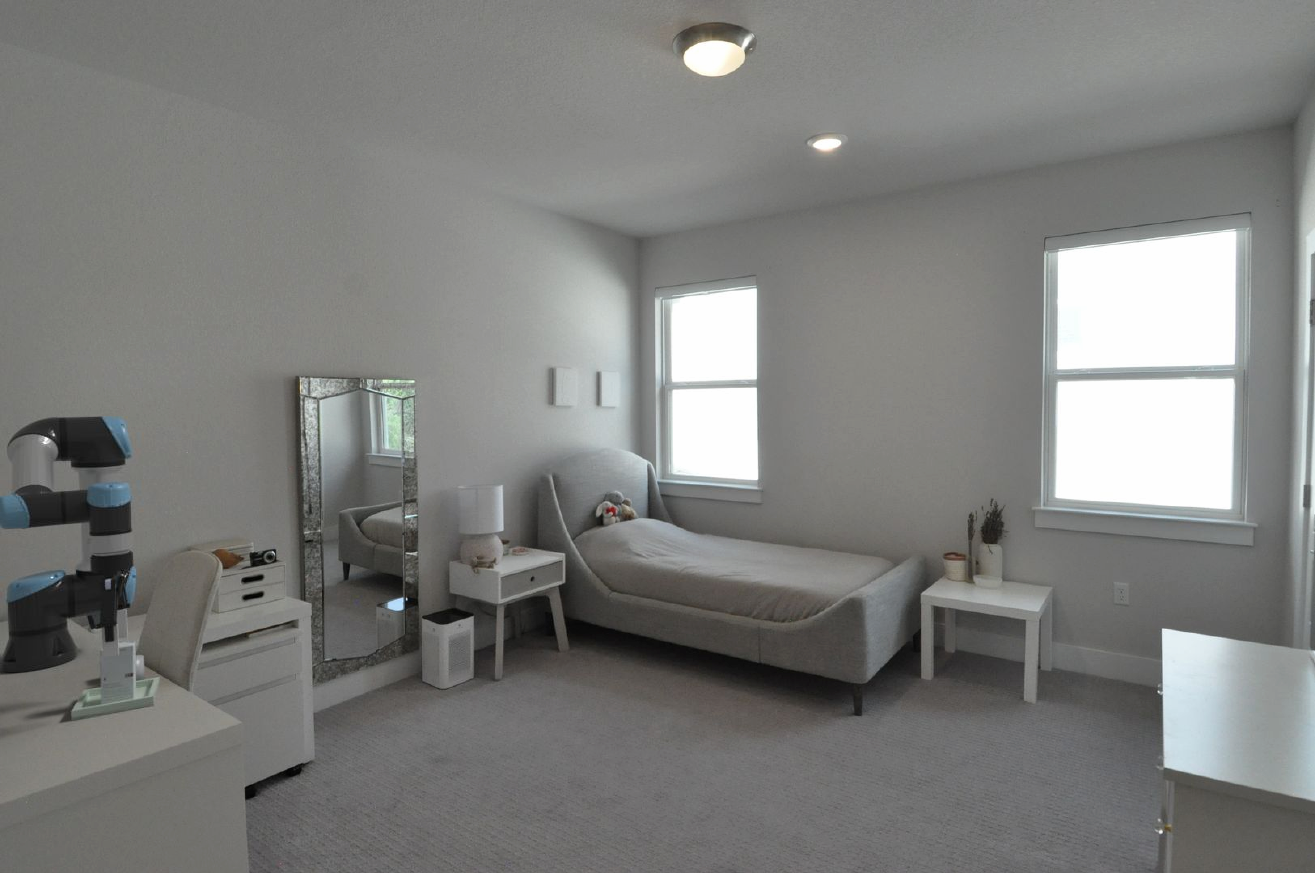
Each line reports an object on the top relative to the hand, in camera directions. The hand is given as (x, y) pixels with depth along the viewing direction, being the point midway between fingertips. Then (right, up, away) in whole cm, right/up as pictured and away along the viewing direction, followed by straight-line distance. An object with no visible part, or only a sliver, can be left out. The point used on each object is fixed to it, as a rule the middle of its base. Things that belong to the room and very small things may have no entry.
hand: (115, 646), depth 156 cm
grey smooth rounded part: (-5, -12, +12) cm, 18 cm away
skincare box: (+1, -12, 0) cm, 12 cm away
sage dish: (+1, -12, 0) cm, 12 cm away
